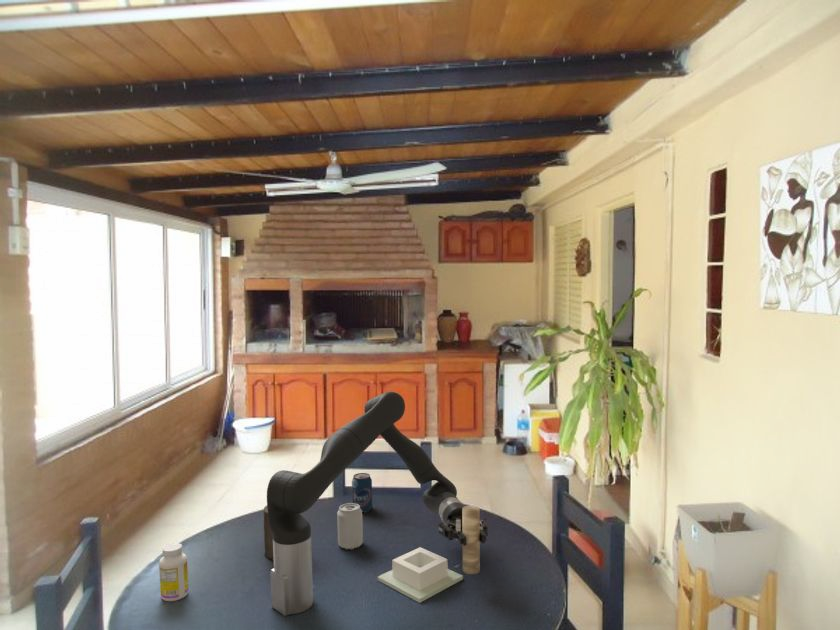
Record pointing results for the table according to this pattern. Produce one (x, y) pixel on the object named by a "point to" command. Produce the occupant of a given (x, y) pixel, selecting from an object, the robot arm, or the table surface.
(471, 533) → the peg
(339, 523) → the can
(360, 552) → the table surface
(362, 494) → the soda can
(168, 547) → the supplement bottle
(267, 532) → the pillar candle
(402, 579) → the socket
